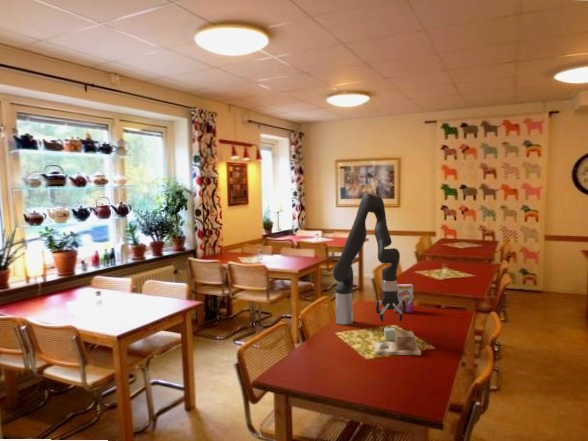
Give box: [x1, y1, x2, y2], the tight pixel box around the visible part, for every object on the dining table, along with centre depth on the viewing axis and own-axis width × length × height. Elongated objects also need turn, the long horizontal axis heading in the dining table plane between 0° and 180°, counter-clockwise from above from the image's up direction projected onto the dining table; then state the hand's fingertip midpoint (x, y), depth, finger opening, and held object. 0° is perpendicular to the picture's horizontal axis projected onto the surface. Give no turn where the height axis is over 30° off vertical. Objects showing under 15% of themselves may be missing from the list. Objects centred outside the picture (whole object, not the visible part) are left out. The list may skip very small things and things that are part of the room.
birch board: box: [372, 341, 422, 356], centre depth 191 cm, size 20×12×2 cm, turn 84°
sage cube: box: [383, 327, 397, 342], centre depth 205 cm, size 5×5×5 cm
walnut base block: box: [394, 330, 416, 350], centre depth 191 cm, size 8×8×6 cm
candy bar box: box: [393, 283, 415, 314], centre depth 249 cm, size 11×5×16 cm, turn 84°
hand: (391, 321), depth 205 cm, fingers open, 8 cm apart
